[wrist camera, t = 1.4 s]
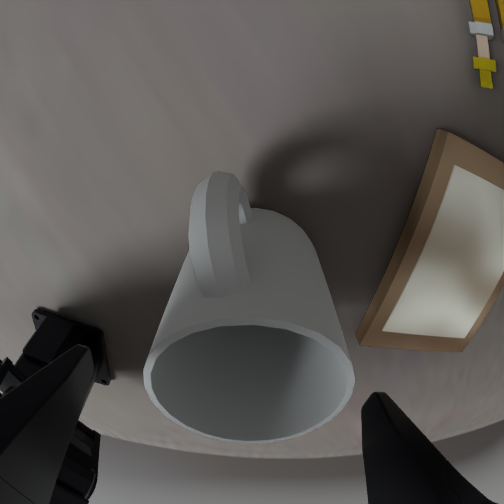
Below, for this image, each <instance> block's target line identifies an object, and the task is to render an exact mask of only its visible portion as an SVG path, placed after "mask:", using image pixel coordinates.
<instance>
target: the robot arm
mask: <svg viewBox="0 0 504 504" xmlns="http://www.w3.org/2000/svg"><path fill="white" fill-rule="evenodd" d="M32 318H33V322H34V325H35V329H36V331H35V333H34V334H33V335H32V337H31V338H30V340H29V341H28V343H27V344H26V345H25V347H24V348H23V353H22V355H21V356H20V358H19V359H18V361H17V362H16V364H15V365H13V364H12V363H13V362H12V361H11V360H10V359H9V358H8V357H6V358H5V359H4V360H3V361H1V360H0V390H1V391H2V392H3V393H2V394H1V393H0V504H88V503H89V500H88V499H89V498H90V496H91V495H92V493H93V492H94V489H95V486H96V483H97V476H98V475H97V474H98V460H99V446H100V436H101V435H100V434H99V433H98V432H96V431H95V430H91V429H90V428H89V427H87V426H86V425H84V424H83V423H82V422H80V421H79V420H78V419H79V417H80V414H81V412H82V409H83V407H84V405H85V402H86V400H87V398H88V395H89V393H90V391H91V388H92V386H93V384H94V382H96V383H100V384H103V385H109V384H110V381H111V379H110V373H109V368H108V362H107V356H106V349H105V343H104V335H103V333H102V331H101V330H99V329H97V328H94V327H91V326H87V325H84V324H81V323H77V322H74V321H71V320H68V319H65V318H61V317H58V316H55V315H52V314H49V313H46V312H44V311H41V310H38V309H35V310H34V311H33V312H32ZM361 419H362V450H363V458H364V467H365V475H366V485H367V494H368V504H497V503H495V502H492V501H491V500H489V499H488V498H486V497H485V496H484V495H483V494H482V493H481V492H480V491H478V490H477V489H476V488H475V487H474V486H473V485H472V484H471V483H469V482H468V481H467V480H466V479H465V478H464V477H463V476H462V475H461V474H460V473H459V472H458V471H457V470H456V469H455V468H454V467H453V466H452V465H451V464H450V463H449V461H448V460H446V458H445V457H444V456H443V455H442V454H441V453H440V452H439V451H438V450H437V448H436V447H435V446H434V445H433V444H432V443H431V442H430V441H429V440H428V438H427V437H426V436H425V435H424V434H423V433H422V432H421V431H420V430H419V429H418V428H417V426H416V425H415V424H414V423H413V422H412V421H411V420H410V419H409V418H408V417H407V415H406V414H405V413H404V412H403V411H402V410H401V409H400V408H399V407H398V406H397V405H396V403H395V402H394V401H393V400H392V399H391V398H390V397H389V396H388V395H387V394H386V393H385V392H374V393H372V394H371V395H370V397H369V398H368V399H367V401H366V402H365V403H364V405H363V407H362V410H361Z"/></svg>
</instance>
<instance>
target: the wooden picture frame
mask: <svg viewBox="0 0 504 504" xmlns="http://www.w3.org/2000/svg"><path fill="white" fill-rule="evenodd" d="M503 285H504V163H503V162H501V161H500V160H498V159H497V158H495V157H493V156H492V155H490V154H488V153H487V152H485V151H483V150H481V149H480V148H478V147H476V146H474V145H472V144H471V143H469V142H467V141H465V140H463V139H461V138H459V137H458V136H456V135H454V134H452V133H450V132H447V131H444V130H440V129H437V130H436V134H435V137H434V141H433V144H432V148H431V151H430V154H429V158H428V161H427V164H426V167H425V170H424V173H423V177H422V180H421V183H420V185H419V188H418V191H417V194H416V197H415V200H414V202H413V205H412V208H411V211H410V213H409V216H408V219H407V221H406V224H405V226H404V229H403V231H402V234H401V236H400V239H399V241H398V244H397V246H396V249H395V251H394V253H393V256H392V258H391V260H390V263H389V265H388V267H387V269H386V272H385V274H384V276H383V278H382V280H381V283H380V285H379V287H378V289H377V291H376V293H375V295H374V297H373V300H372V302H371V304H370V306H369V308H368V310H367V312H366V314H365V316H364V318H363V320H362V322H361V324H360V325H359V327H358V329H357V331H356V333H355V334H356V337H357V340H358V343H359V346H370V347H381V348H394V349H408V350H424V351H446V352H462V351H463V350H464V349H465V347H466V346H467V344H468V343H469V341H470V340H471V338H472V337H473V335H474V334H475V332H476V331H477V329H478V328H479V326H480V325H481V323H482V321H483V320H484V318H485V317H486V315H487V313H488V312H489V310H490V308H491V307H492V305H493V303H494V301H495V300H496V298H497V296H498V294H499V293H500V291H501V289H502V287H503Z"/></svg>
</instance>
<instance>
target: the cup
mask: <svg viewBox="0 0 504 504" xmlns="http://www.w3.org/2000/svg"><path fill="white" fill-rule="evenodd" d="M188 237H189V251H188V254H187V256H186V259H185V261H184V263H183V266H182V268H181V271H180V273H179V276H178V278H177V281H176V283H175V286H174V288H173V291H172V294H171V296H170V299H169V301H168V304H167V306H166V309H165V312H164V314H163V317H162V320H161V322H160V325H159V328H158V330H157V333H156V336H155V339H154V341H153V344H152V347H151V350H150V352H149V355H148V358H147V361H146V364H145V367H144V369H143V376H144V385H145V389H146V391H147V393H148V395H149V397H150V398H151V400H152V402H153V404H154V405H155V406H156V407H157V408H158V409H159V410H160V411H161V412H162V413H163V414H164V415H165V416H166V417H168V418H169V419H171V420H172V421H174V422H175V423H177V424H178V425H180V426H181V427H183V428H185V429H188V430H190V431H192V432H194V433H197V434H199V435H202V436H205V437H209V438H213V439H217V440H221V441H226V442H235V443H245V444H246V443H270V442H276V441H282V440H287V439H291V438H294V437H297V436H300V435H303V434H306V433H309V432H311V431H313V430H315V429H317V428H319V427H320V426H322V425H324V424H326V423H327V422H329V421H330V420H331V419H332V418H333V417H335V416H336V415H337V414H338V413H339V412H341V411H342V409H343V408H344V406H345V405H346V403H347V402H348V400H349V399H350V397H351V395H352V391H353V387H354V383H355V377H354V372H353V367H352V362H351V359H350V355H349V352H348V349H347V345H346V342H345V339H344V335H343V332H342V329H341V326H340V322H339V319H338V316H337V313H336V310H335V307H334V304H333V301H332V297H331V294H330V291H329V288H328V285H327V282H326V279H325V276H324V273H323V270H322V268H321V265H320V262H319V259H318V256H317V253H316V250H315V248H314V246H313V244H312V242H311V241H310V239H309V238H308V236H307V235H306V233H305V232H304V230H303V229H302V228H301V227H300V226H298V225H297V224H296V223H295V222H294V221H292V220H291V219H290V218H288V217H286V216H284V215H282V214H279V213H277V212H275V211H272V210H266V209H260V208H250V204H249V201H248V197H247V194H246V192H245V189H244V188H243V186H242V185H241V184H240V182H239V181H238V179H237V178H236V177H235V175H234V174H230V173H225V172H219V171H217V172H213V173H212V174H210V175H209V176H208V177H206V178H205V179H203V180H202V181H201V182H200V183H199V184H198V186H197V187H196V189H195V191H194V194H193V198H192V202H191V208H190V221H189V235H188Z"/></svg>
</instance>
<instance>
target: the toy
mask: <svg viewBox="0 0 504 504" xmlns="http://www.w3.org/2000/svg"><path fill="white" fill-rule="evenodd" d="M495 2H496V6H497V11H498V17H499V23H500V29H501V31H500V33H501V40H502V42H503V43H504V0H495ZM470 5H471V10H472V16H473V22H469V29H470V36H474V37H476V41H477V50H478V57H473V64H474V69H479V73H480V87H486V88H491V89H493V83H492V77H491V72H496V61H495V60H491V59H490V55H489V46H488V40H492V38H493V36H494V34H493V27H492V24H491V18H490V13H489V8H488V3H487V0H470Z"/></svg>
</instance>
